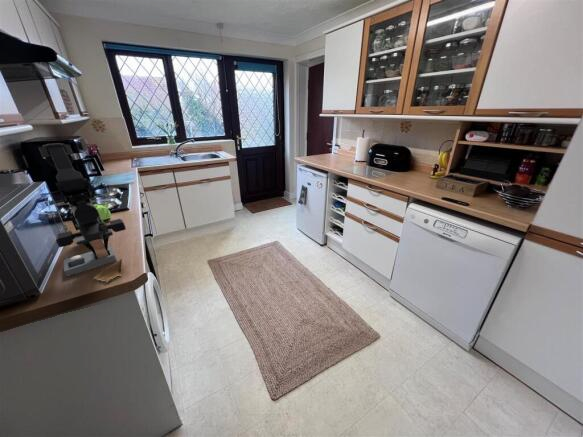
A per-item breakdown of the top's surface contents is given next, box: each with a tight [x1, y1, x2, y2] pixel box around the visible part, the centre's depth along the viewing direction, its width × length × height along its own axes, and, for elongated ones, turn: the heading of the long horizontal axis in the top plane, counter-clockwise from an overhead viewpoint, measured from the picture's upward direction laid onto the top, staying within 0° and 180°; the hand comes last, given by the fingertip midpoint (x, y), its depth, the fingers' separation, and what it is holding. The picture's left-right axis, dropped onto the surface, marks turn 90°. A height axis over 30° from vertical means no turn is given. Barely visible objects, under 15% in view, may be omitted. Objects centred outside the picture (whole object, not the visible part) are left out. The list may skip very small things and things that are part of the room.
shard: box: [93, 258, 123, 281], centre depth 82 cm, size 11×8×2 cm
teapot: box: [93, 202, 112, 223], centre depth 119 cm, size 11×12×8 cm
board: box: [63, 242, 117, 277], centre depth 86 cm, size 9×14×6 cm, turn 131°
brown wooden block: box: [91, 238, 108, 259], centre depth 86 cm, size 3×3×8 cm
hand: (101, 252), depth 87 cm, fingers closed on brown wooden block, 3 cm apart
